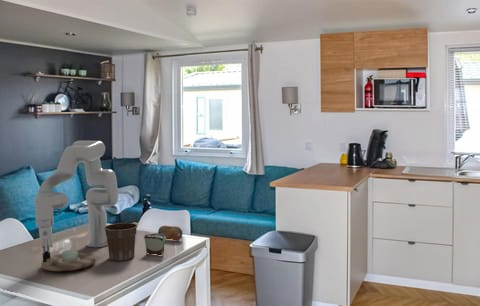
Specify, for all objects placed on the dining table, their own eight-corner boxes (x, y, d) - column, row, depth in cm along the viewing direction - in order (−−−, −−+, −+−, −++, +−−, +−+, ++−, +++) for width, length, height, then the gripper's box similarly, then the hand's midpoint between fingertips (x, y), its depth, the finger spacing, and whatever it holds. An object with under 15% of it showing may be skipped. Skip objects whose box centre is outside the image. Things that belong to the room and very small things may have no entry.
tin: (157, 239, 265) (157, 225, 264) (160, 238, 268) (160, 224, 267) (180, 242, 259) (180, 227, 258) (183, 241, 262) (183, 226, 261)
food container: (171, 253, 238) (170, 234, 237) (164, 256, 232) (163, 237, 231) (151, 250, 243) (150, 232, 242) (144, 254, 237) (143, 234, 236)
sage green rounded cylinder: (72, 257, 222) (72, 249, 222) (80, 259, 218) (80, 251, 218) (59, 260, 217) (59, 252, 217) (67, 263, 213) (67, 255, 212)
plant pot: (103, 255, 235) (102, 224, 234) (134, 251, 242) (134, 221, 241) (107, 264, 221) (106, 231, 219) (141, 260, 227) (140, 227, 226)
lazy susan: (75, 252, 235) (75, 244, 235) (106, 260, 221) (105, 251, 221) (31, 265, 216) (30, 255, 215) (61, 274, 202) (61, 264, 201)
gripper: (54, 225, 205) (56, 265, 207) (53, 218, 219) (55, 255, 221) (35, 227, 202) (37, 267, 204) (36, 219, 216) (38, 257, 218)
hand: (46, 261), depth 212 cm, fingers closed
